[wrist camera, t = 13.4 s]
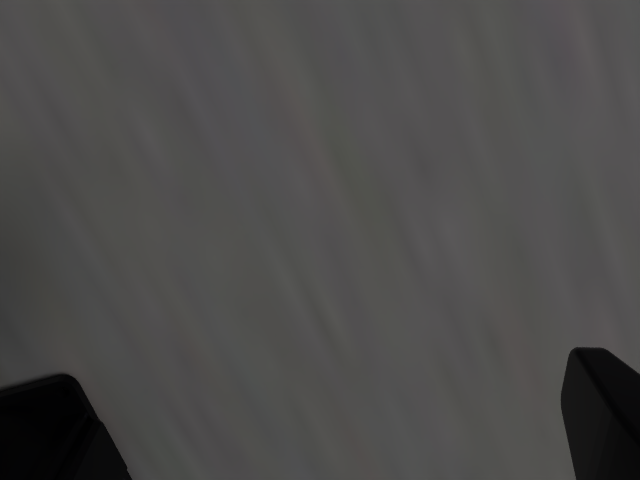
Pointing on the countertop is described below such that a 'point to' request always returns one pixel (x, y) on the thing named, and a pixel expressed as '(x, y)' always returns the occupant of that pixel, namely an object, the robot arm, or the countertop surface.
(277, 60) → the countertop surface
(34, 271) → the countertop surface
